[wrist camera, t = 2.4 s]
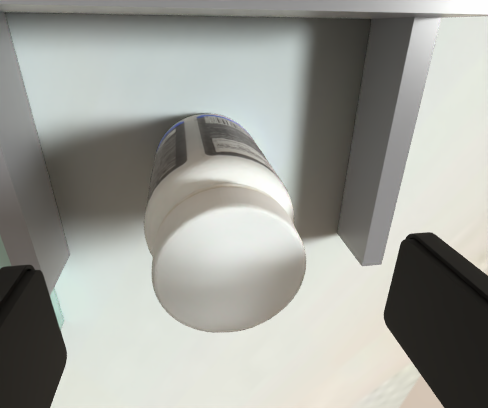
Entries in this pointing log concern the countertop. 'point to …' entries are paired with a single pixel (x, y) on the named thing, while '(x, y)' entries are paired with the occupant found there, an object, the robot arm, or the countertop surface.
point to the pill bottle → (220, 228)
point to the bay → (249, 5)
